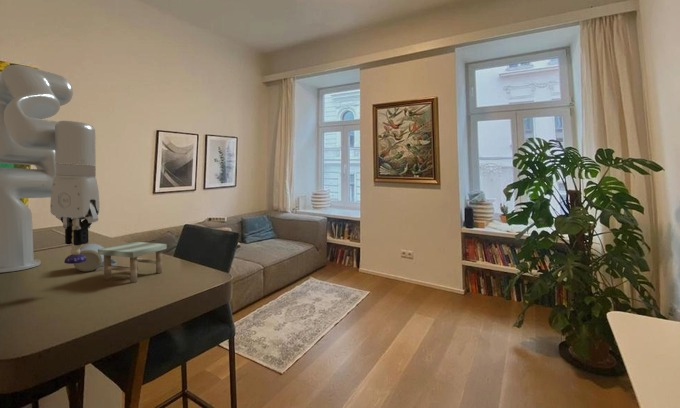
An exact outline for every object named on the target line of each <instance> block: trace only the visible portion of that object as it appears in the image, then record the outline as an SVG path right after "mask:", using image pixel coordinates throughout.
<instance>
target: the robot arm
mask: <svg viewBox="0 0 680 408" xmlns="http://www.w3.org/2000/svg"><path fill="white" fill-rule="evenodd" d="M67 79H68V78H67ZM67 79H66V78H65V77H64V76H61V74H60V75H59V74H56V73H52V72H50V71H45V70H43V69H39V68H35V67H31V66H27V65H21V64H11V65H7V66H5V67H4V68H3V69H2V71H0V164H7V165H8V164H9V165H10V164H11V165H23V166H24V165H25V166H26V165H27V166H34V167H35V168H23V167H22V168H21V167H20V168H19V167H18V168H17V167H0V273H9V272H10V273H11V272H18V271H23V270H27V269H28V270H29V269H31V268H32V269H33V268H35V267H38V266H40V265H41V264H42V263H41V260H40V259H35V258H34V235H33V234H34V232H33V213H32V210H31V209H30V207H29V206H28V205H26V204H25V203H24V201H23V202H22V200H21V199H42V198H43V199H45V198H50V210H49V211H50V213H51V215H52V216H55V218H57V219H58V220H59V221H61V223H62V227H63V229H64V239H65V240H64V241H65V242H64V244H65V245H72V232H73V244H74V245H82V246H83V245H87V244H89V229H90V228H91V226H92V224H93V223H96V222H98V221H99V217H98V215H99V213H100V192H99V185H98V181H97V177H96V175H97V174H96V167H97V166H96V164H97V163H96V129H95V128H94V126H93V125H92V124H89V123H85V122H82V121H81V122H79V121H72V120H59V121H56V120H50V119H48V118H51V117H53V116H56V115H57V114H58V113H59V111H60V109H61V107H62V106H66V105H67V104H68V103H70V102H71V100H72V98H73V95H74V94H73V93H74V92H73V88H72V85H71V83H70V81H68V80H67ZM73 218H75V228H76V230H72V226H73V224H72V221H73ZM81 221H82V222H81Z"/></svg>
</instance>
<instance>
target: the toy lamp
mask: <svg viewBox="0 0 680 408" xmlns="http://www.w3.org/2000/svg"><path fill="white" fill-rule="evenodd" d="M82 221H83V220H81V222H82ZM72 224H73V226H72V230H76V228H75V218H73V221H72ZM70 245H71V246H70V247H71V251H70V254H69V255H68V256H67V257H65V259H64V264H68V265H72V264H73V265H74V264H75V263H82V262H85V261H86V257H85V256H84V255H82V254H80V248H81V247H82V246H81V245H74V244H73V232H72V244H70Z"/></svg>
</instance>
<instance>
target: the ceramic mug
mask: <svg viewBox="0 0 680 408" xmlns="http://www.w3.org/2000/svg"><path fill="white" fill-rule="evenodd" d="M102 248H105V247H104V246H103V245H101V244H97V243H87V244H83V245H82V246H81V247H80V254H82V255H84V256H85V257H86V261H85V262H82V263H75V264H73V266H74V267H75V268H76V270H78V271H80V272H92V271H95V270H97V269H99V268H100V267H103V268H104V255H98V249H102ZM111 265H113V266H117V265H118V262H117V260H115V259H113V258H111Z"/></svg>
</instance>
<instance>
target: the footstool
mask: <svg viewBox="0 0 680 408" xmlns="http://www.w3.org/2000/svg"><path fill="white" fill-rule="evenodd" d="M167 249H168V245H167V243H157V242H156V243H155V242H146V241H145V242H143V241H131V242H128V243H123V244H117V245H116V244H115V245H113V246H111V245H110V246H108V247H104V248H102V249H98V255H104V267H103V270H104V271H103V273H104V275H103V278H104V280H105V281H108V280H109V281H110V280H112V271H118V272H127V273H128V272H129V274H130V275H129V279H130V283H131V284H134V283H135V284H136V283H137V282H138V271H139V263H146V264H153V265H155V273H156V274H162V273H163V252H162V251H164V250H167ZM153 253H155V259H152V258H142V257H141V256H144V255H148V254H153ZM112 257H119V258H120V257H121V258H129V266H123V265H120V266H119V265H116V266H113V265H111V259H112Z"/></svg>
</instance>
